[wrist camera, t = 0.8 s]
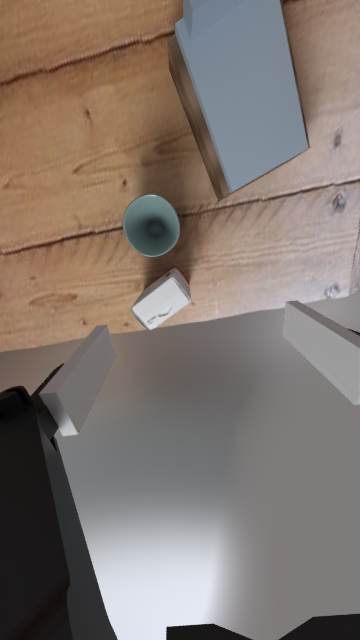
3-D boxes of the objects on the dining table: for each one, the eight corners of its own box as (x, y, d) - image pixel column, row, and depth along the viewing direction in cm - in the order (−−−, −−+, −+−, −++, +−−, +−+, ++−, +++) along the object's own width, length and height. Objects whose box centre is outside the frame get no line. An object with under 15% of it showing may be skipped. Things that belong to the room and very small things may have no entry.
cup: (128, 220, 35) (110, 214, 26) (165, 195, 33) (160, 179, 24) (151, 259, 38) (143, 267, 28) (187, 237, 36) (190, 238, 27)
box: (169, 68, 27) (167, 39, 23) (258, 3, 25) (274, -43, 21) (218, 201, 34) (224, 196, 30) (292, 159, 31) (310, 147, 27)
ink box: (174, 263, 38) (173, 275, 27) (189, 284, 40) (194, 302, 29) (141, 289, 40) (127, 310, 29) (157, 308, 42) (149, 334, 31)
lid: (175, 33, 23) (174, -10, 19) (265, -36, 21) (285, -101, 17) (230, 193, 29) (238, 186, 25) (302, 151, 27) (324, 137, 23)
